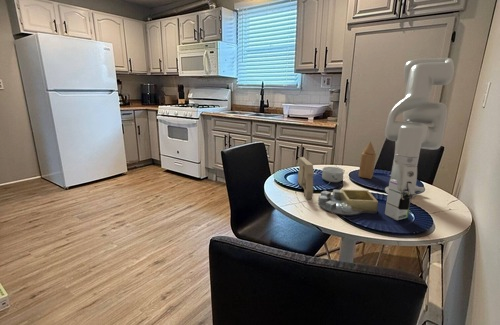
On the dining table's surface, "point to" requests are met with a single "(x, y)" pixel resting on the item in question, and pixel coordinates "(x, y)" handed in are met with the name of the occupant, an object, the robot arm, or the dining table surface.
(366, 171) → the decorative item
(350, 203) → the beige and grey tray
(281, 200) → the dining table surface
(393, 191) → the syrup box
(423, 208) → the dining table surface
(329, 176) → the saucepan
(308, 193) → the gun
